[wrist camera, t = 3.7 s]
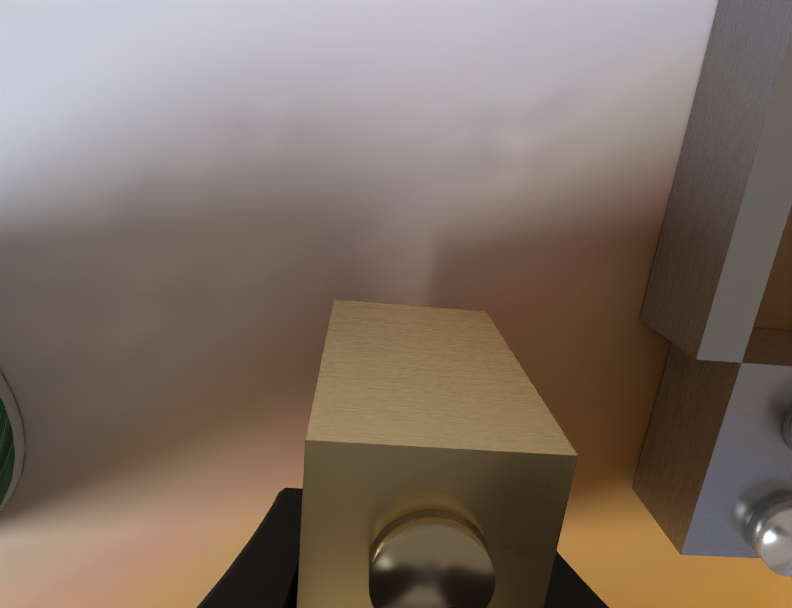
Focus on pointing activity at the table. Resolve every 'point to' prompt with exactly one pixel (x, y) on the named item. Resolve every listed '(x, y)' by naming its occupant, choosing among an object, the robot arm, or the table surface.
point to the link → (428, 466)
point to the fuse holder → (726, 304)
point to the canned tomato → (9, 443)
